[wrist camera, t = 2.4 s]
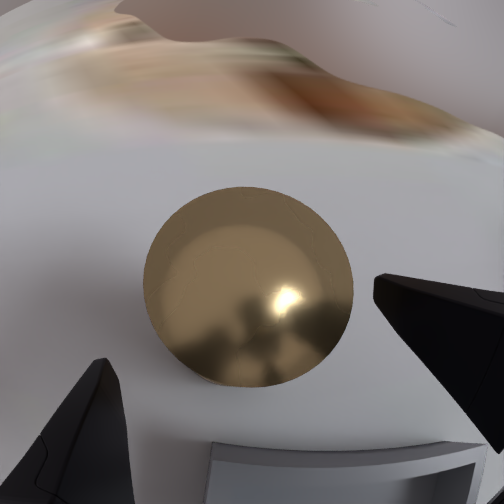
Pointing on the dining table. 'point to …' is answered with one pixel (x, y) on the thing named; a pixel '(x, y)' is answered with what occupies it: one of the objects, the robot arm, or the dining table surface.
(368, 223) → the dining table surface
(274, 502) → the charcoal bin
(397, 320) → the robot arm
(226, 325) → the brass canister
